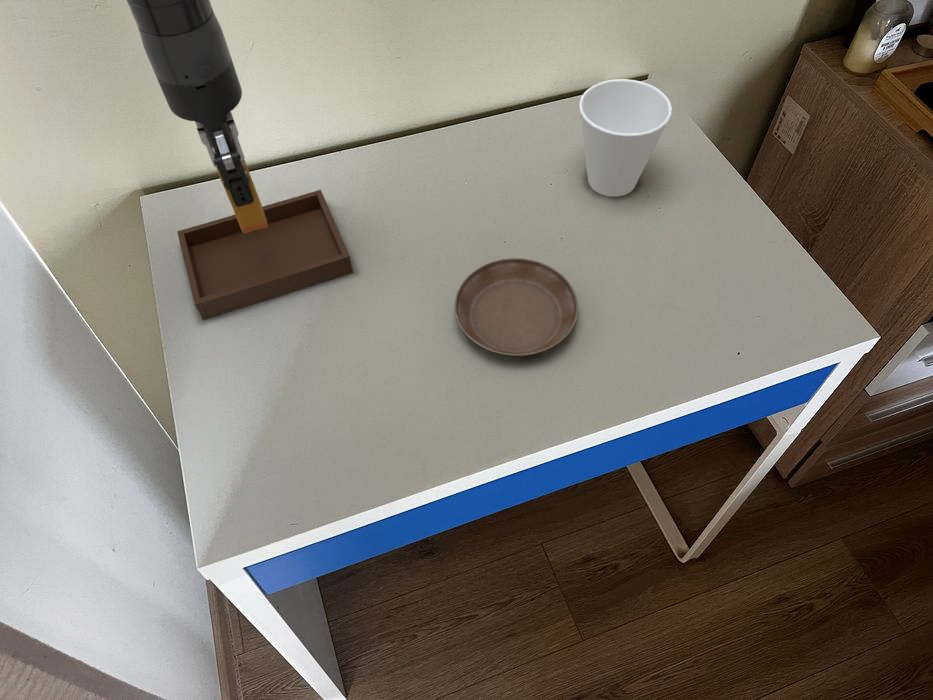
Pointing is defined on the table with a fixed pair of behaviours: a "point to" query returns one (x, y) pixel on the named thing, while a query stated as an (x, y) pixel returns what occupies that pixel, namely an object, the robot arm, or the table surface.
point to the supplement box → (248, 208)
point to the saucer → (516, 307)
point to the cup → (621, 132)
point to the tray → (263, 255)
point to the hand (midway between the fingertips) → (241, 192)
